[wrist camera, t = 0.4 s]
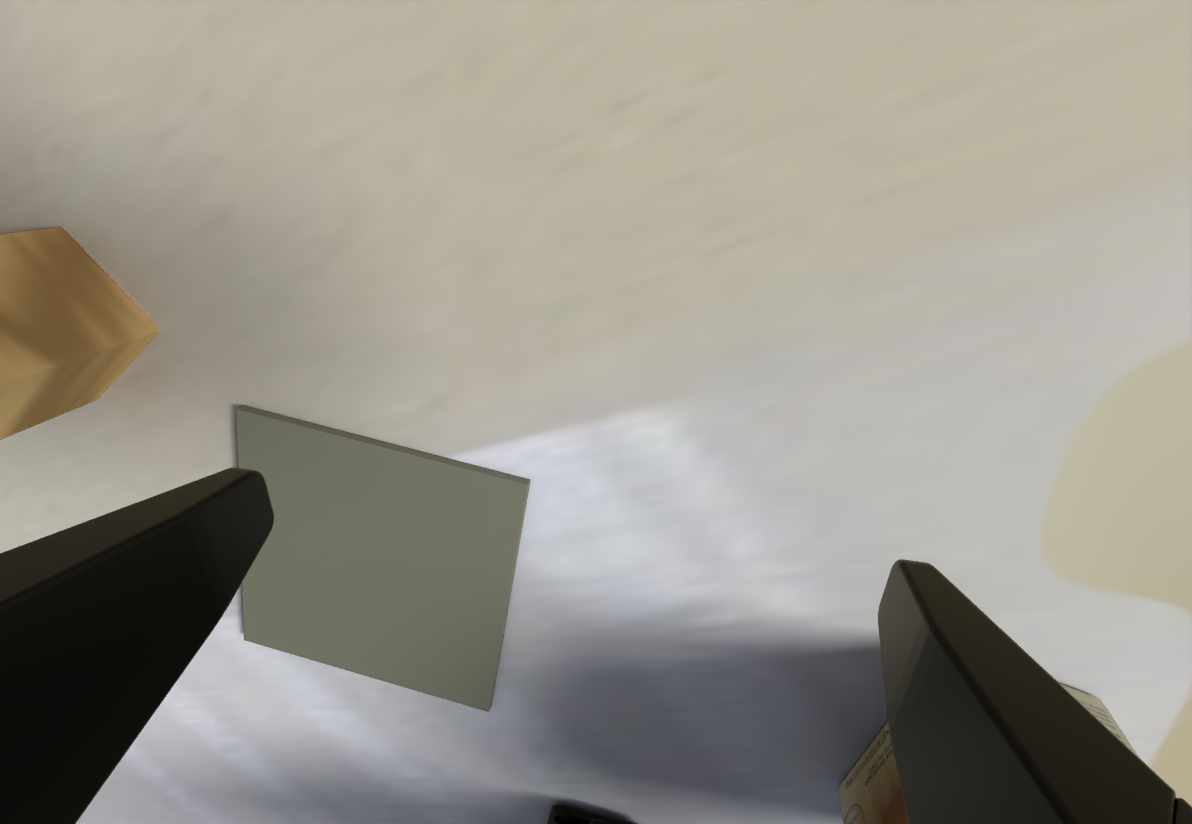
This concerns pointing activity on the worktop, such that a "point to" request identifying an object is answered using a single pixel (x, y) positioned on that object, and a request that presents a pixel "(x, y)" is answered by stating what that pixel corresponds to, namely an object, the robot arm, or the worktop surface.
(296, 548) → the slate mat
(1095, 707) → the coffee box
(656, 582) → the worktop surface
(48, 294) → the oak block
